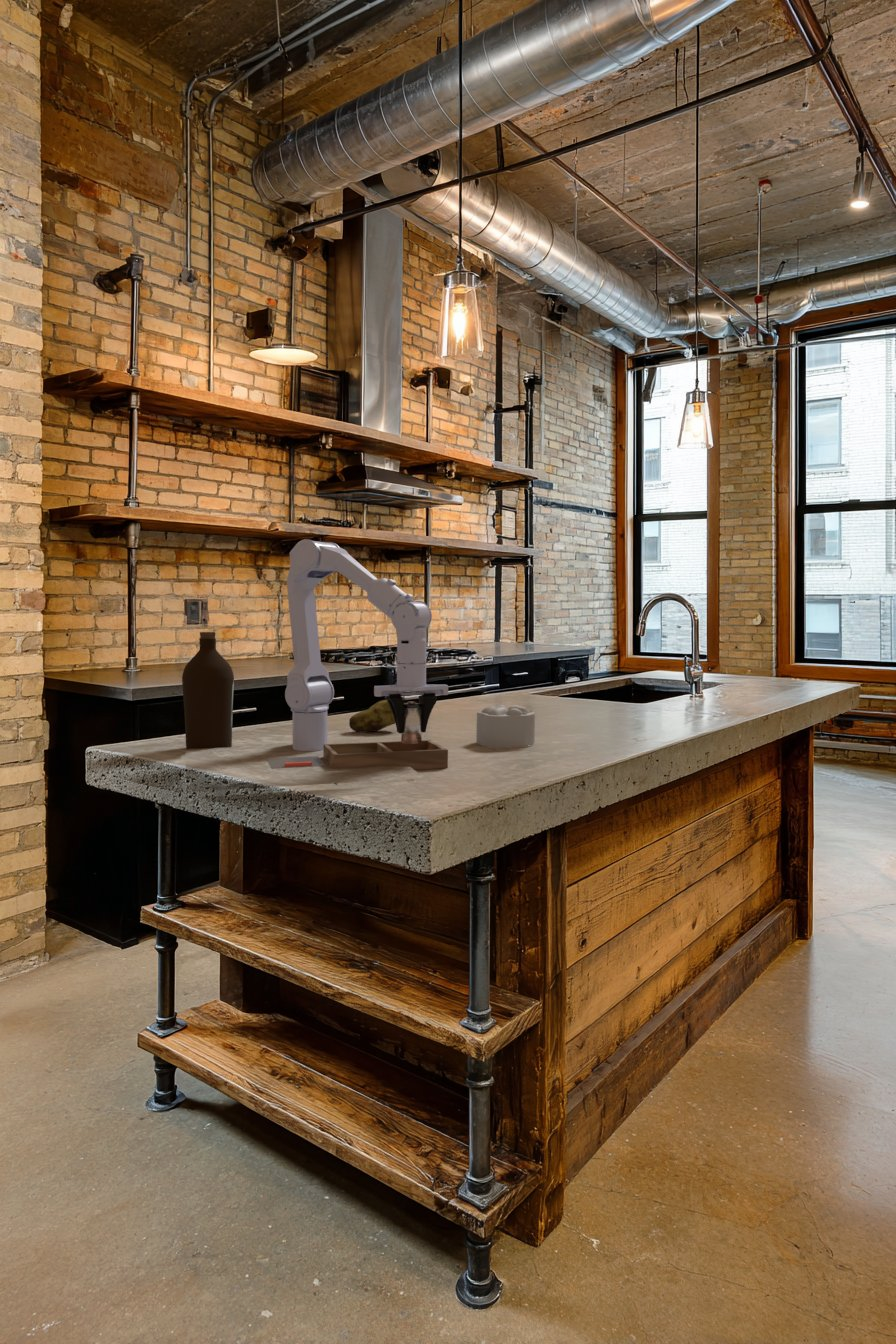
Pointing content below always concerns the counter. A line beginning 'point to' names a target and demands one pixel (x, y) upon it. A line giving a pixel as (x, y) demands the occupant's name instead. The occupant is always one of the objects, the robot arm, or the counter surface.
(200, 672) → the olive oil
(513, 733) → the lumpy-topped squat cylinder
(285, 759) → the grey square base plate
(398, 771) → the counter surface
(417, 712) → the cell
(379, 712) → the potato
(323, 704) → the robot arm
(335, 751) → the sorting tray
